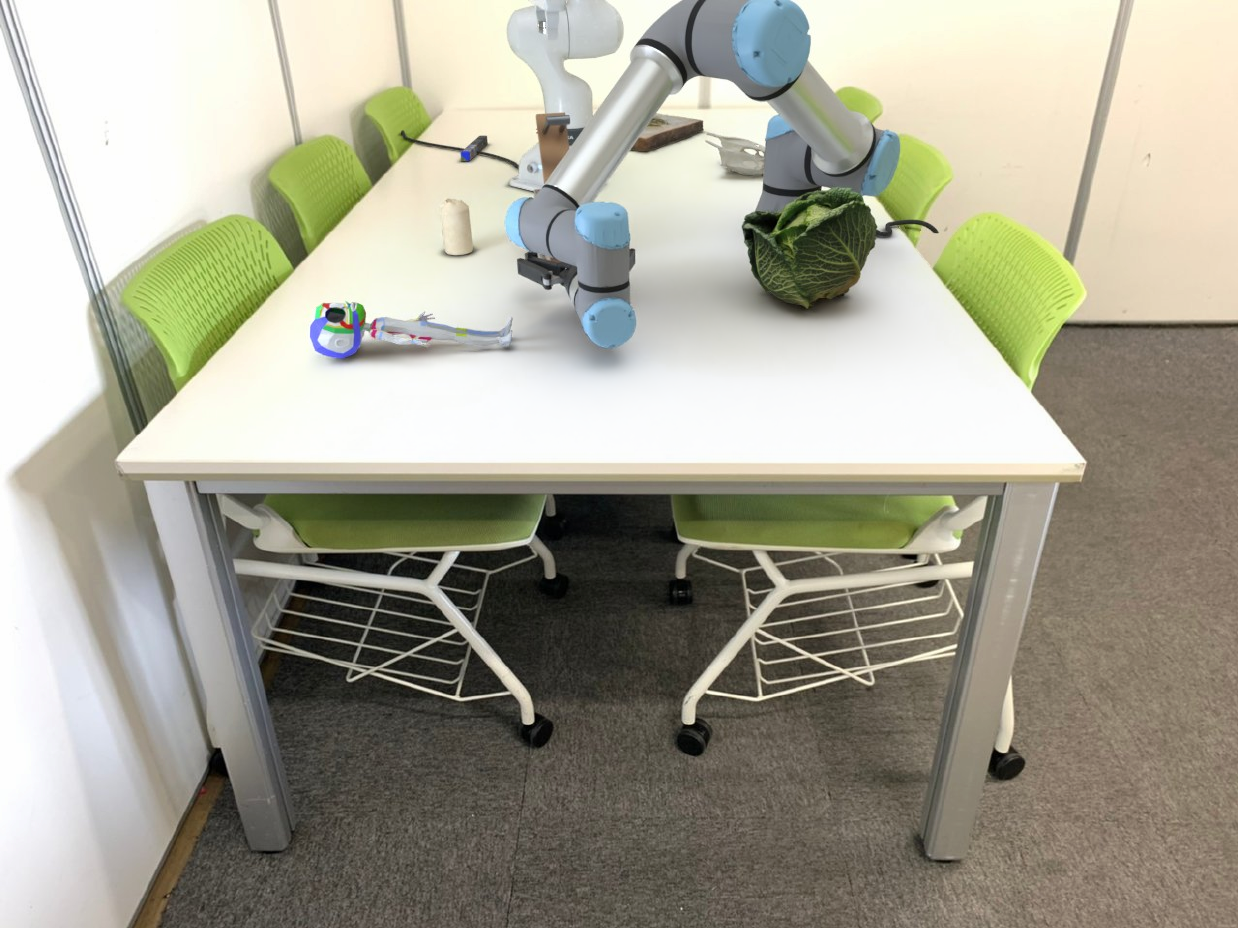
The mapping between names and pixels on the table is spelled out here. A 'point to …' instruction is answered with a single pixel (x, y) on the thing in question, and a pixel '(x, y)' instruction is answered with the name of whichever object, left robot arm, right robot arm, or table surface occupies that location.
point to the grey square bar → (474, 148)
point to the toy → (386, 330)
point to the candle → (456, 227)
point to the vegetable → (811, 245)
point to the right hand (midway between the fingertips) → (569, 246)
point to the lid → (552, 140)
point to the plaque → (666, 131)
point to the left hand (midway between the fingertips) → (547, 36)
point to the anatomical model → (739, 155)
